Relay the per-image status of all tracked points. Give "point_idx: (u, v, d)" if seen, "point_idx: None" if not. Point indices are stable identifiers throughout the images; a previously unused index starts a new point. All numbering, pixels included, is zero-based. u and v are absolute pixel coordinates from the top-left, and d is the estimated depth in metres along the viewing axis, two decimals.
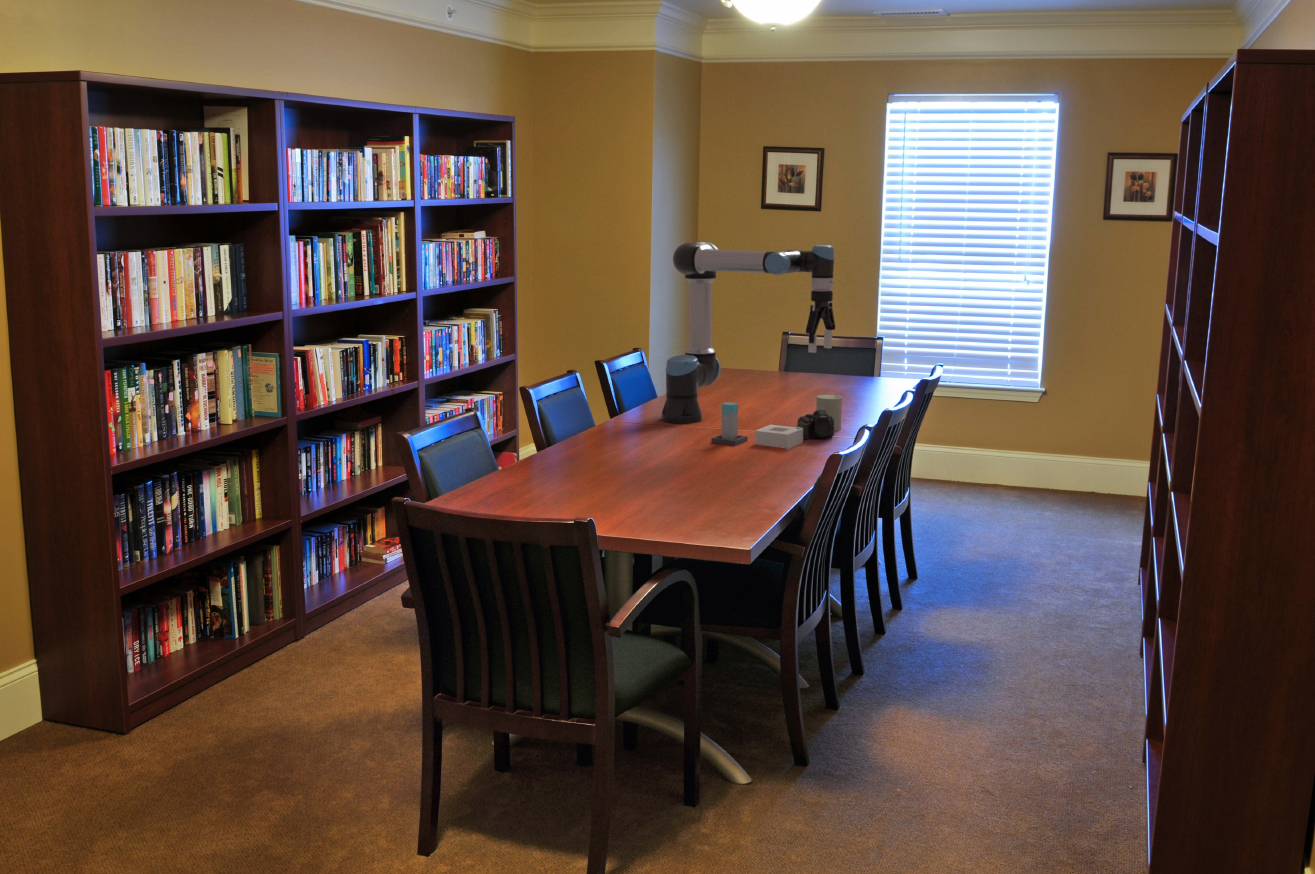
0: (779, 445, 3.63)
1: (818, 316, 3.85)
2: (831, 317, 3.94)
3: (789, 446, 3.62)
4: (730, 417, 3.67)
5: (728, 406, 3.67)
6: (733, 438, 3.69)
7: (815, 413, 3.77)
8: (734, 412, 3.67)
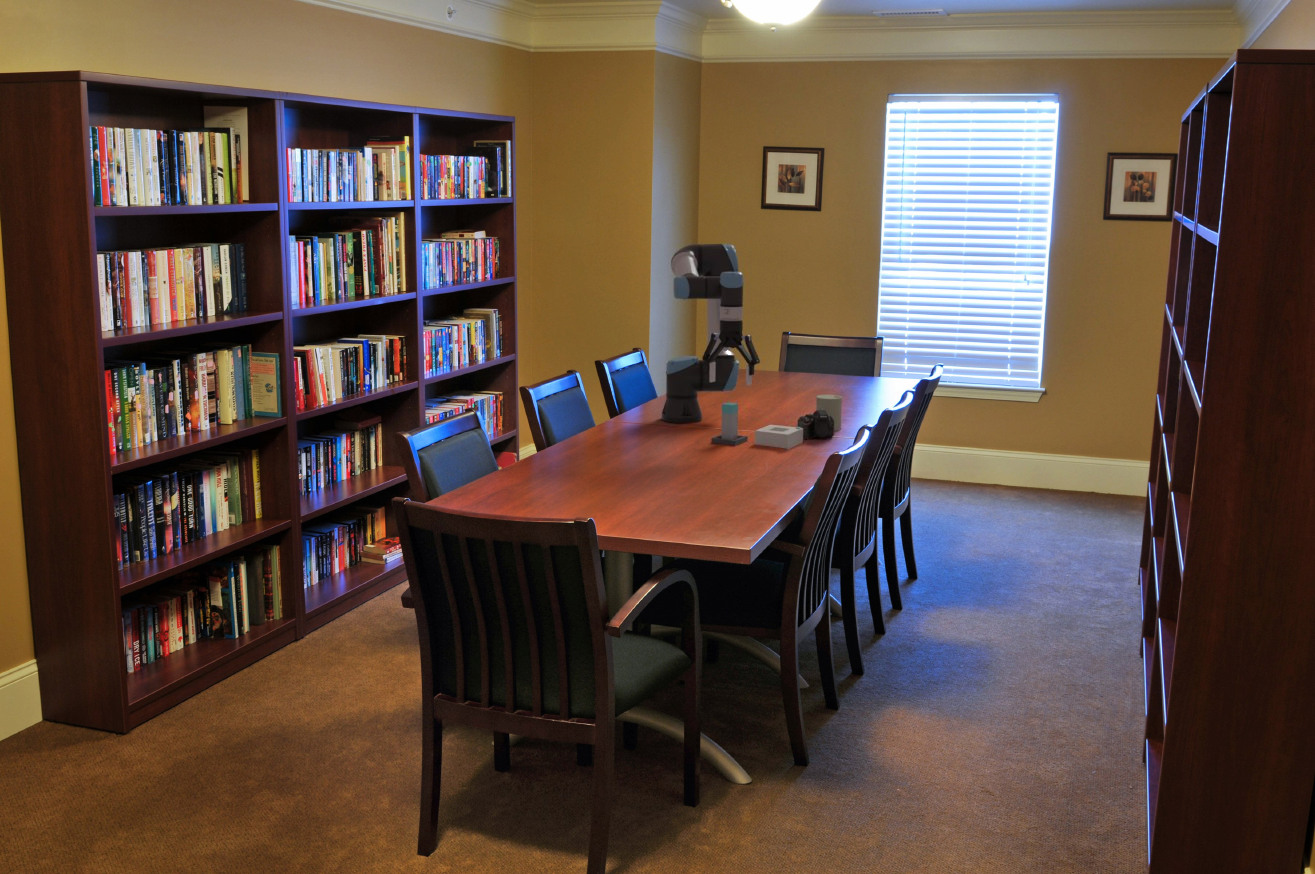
0: (779, 445, 3.63)
1: None
2: None
3: (789, 446, 3.62)
4: (730, 417, 3.67)
5: (728, 406, 3.67)
6: (733, 438, 3.69)
7: (815, 413, 3.77)
8: (734, 412, 3.67)
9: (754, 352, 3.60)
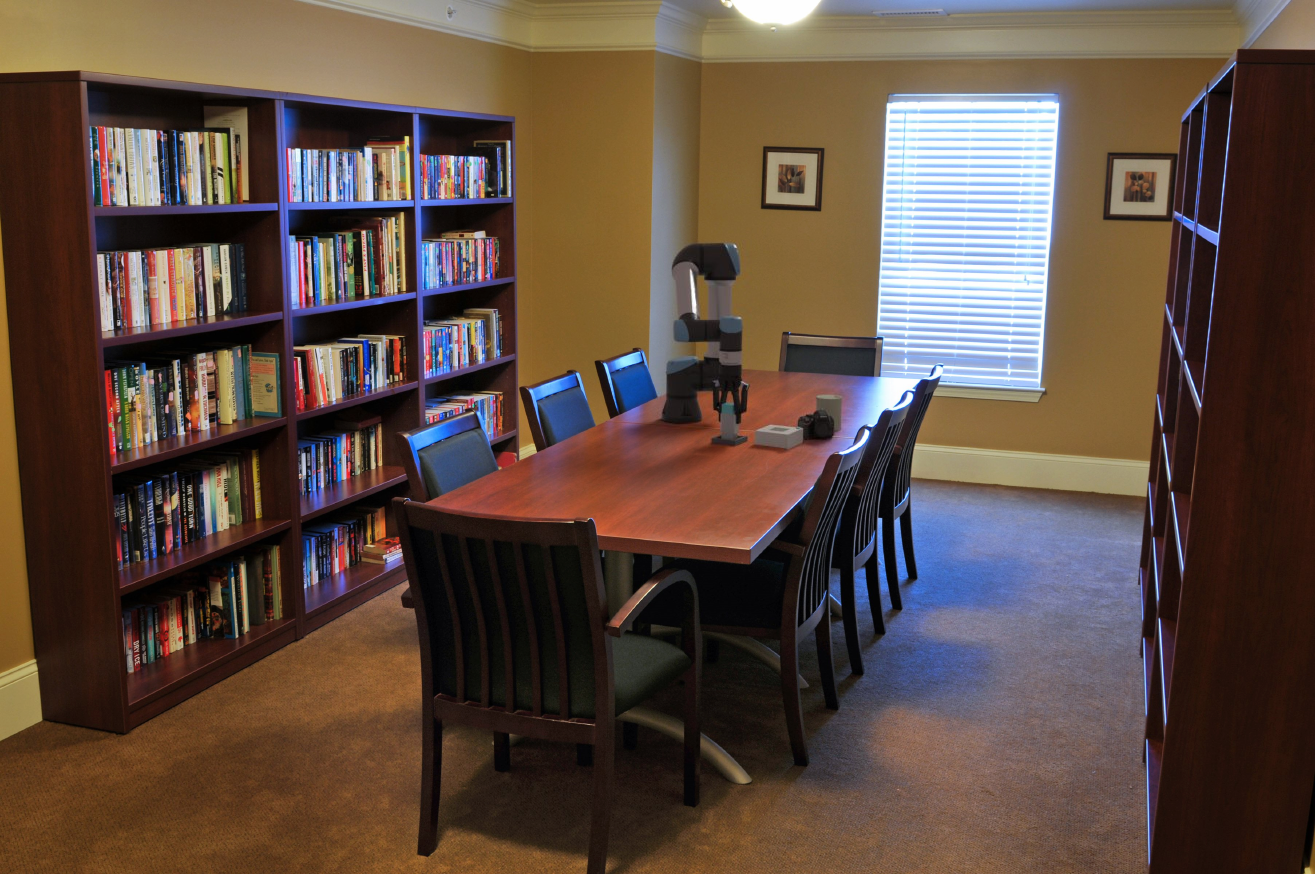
0: (779, 445, 3.63)
1: None
2: None
3: (789, 446, 3.62)
4: (730, 417, 3.67)
5: (728, 406, 3.67)
6: (733, 438, 3.69)
7: (815, 413, 3.77)
8: (734, 412, 3.67)
9: (745, 402, 3.65)
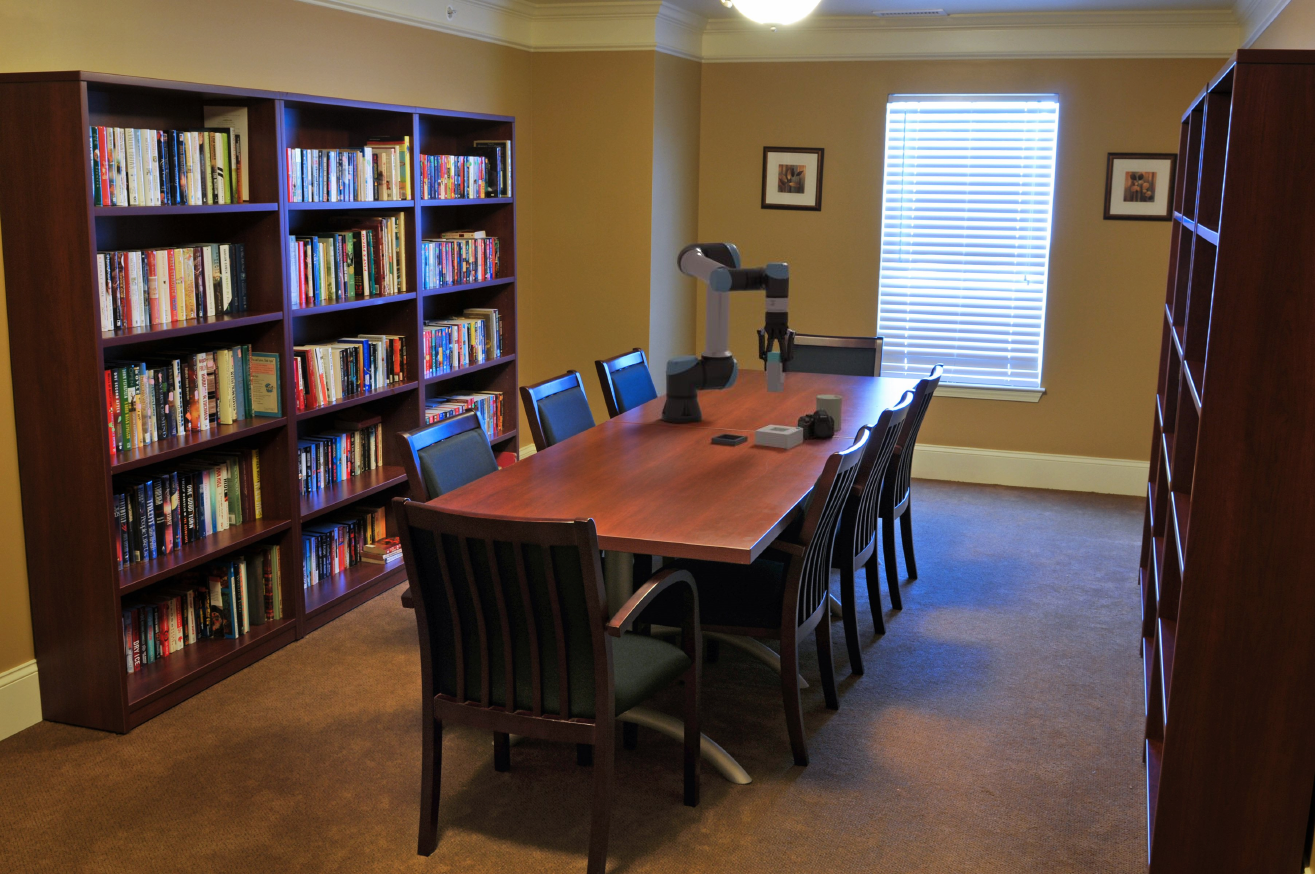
0: (779, 445, 3.63)
1: None
2: None
3: (789, 446, 3.62)
4: (775, 365, 3.61)
5: (774, 354, 3.61)
6: (779, 387, 3.63)
7: (815, 413, 3.77)
8: (780, 360, 3.62)
9: (792, 349, 3.59)
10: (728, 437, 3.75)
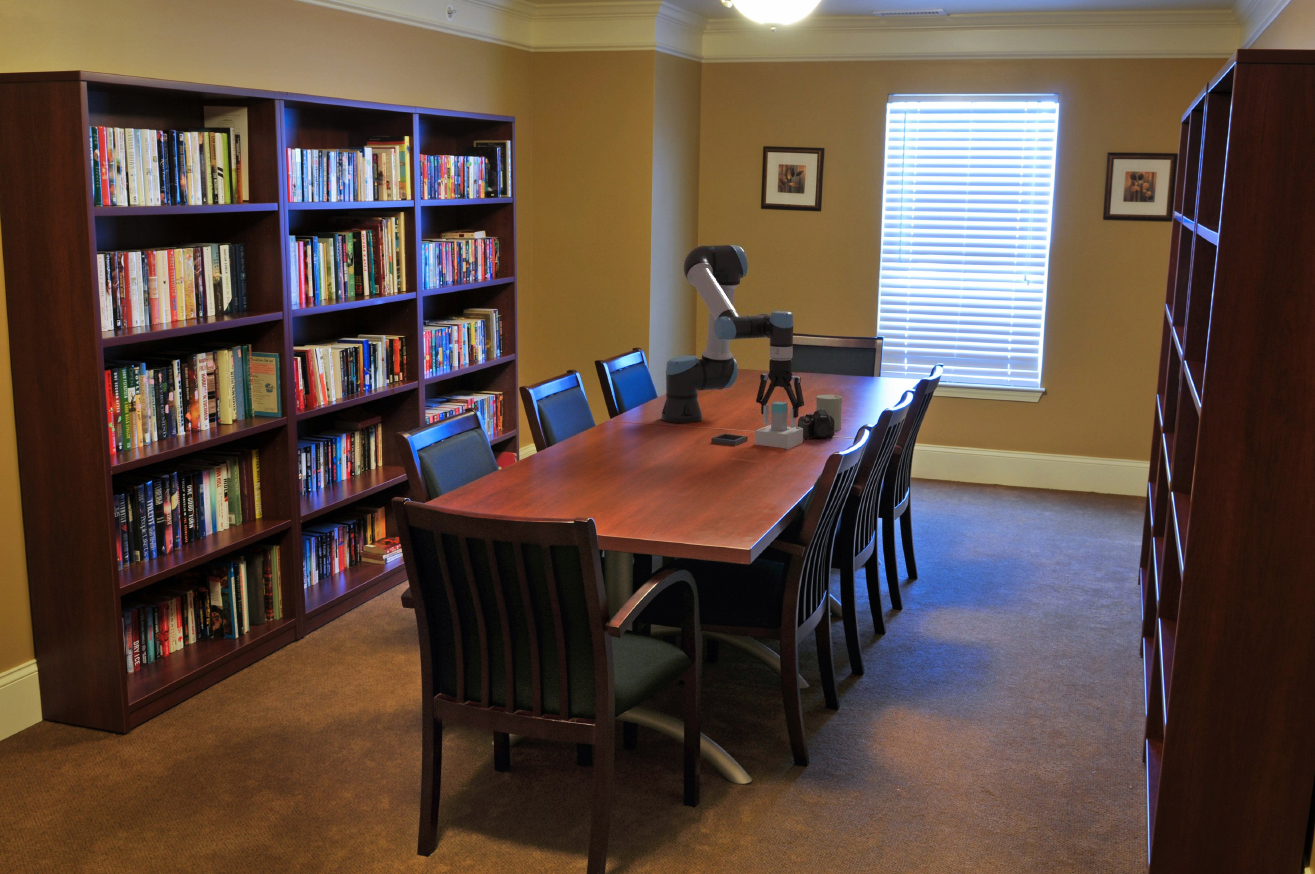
0: (779, 445, 3.63)
1: None
2: None
3: (789, 446, 3.62)
4: (779, 416, 3.65)
5: (778, 405, 3.65)
6: None
7: (815, 413, 3.77)
8: (784, 411, 3.66)
9: (800, 395, 3.62)
10: (728, 437, 3.75)
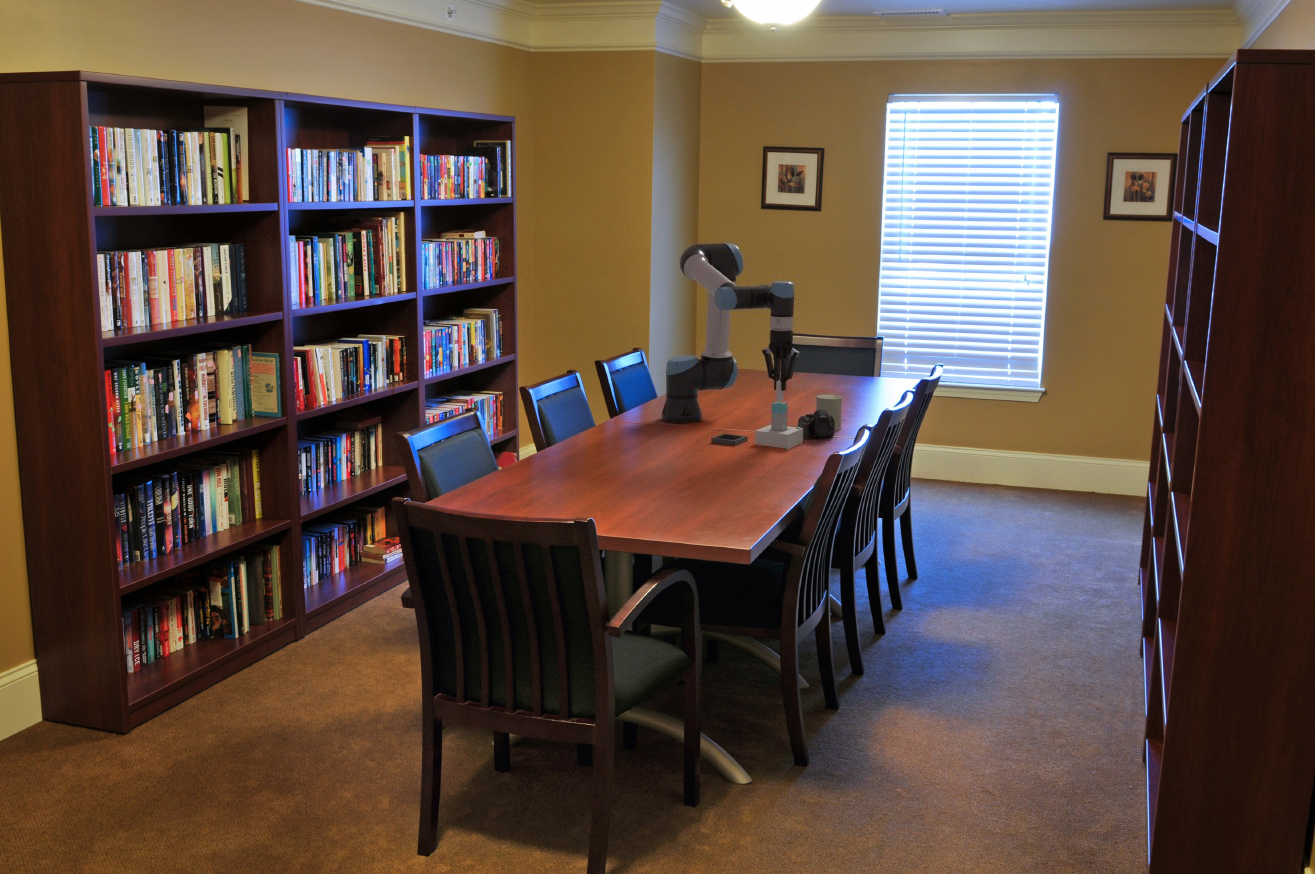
0: (779, 445, 3.63)
1: None
2: None
3: (789, 446, 3.62)
4: (779, 416, 3.65)
5: (778, 405, 3.65)
6: None
7: (815, 413, 3.77)
8: (784, 411, 3.66)
9: (792, 369, 3.62)
10: (728, 437, 3.75)
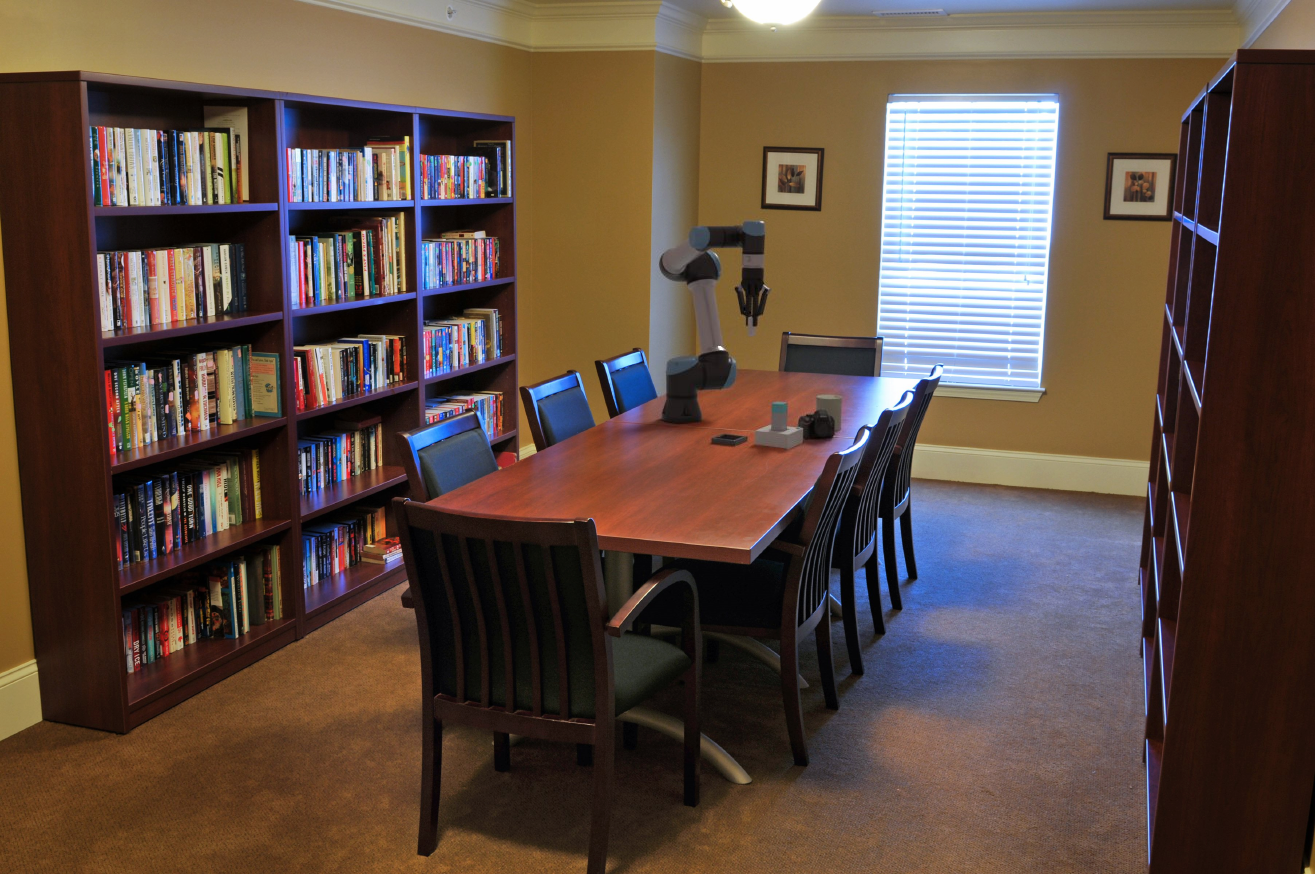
0: (779, 445, 3.63)
1: None
2: None
3: (789, 446, 3.62)
4: (779, 416, 3.65)
5: (778, 405, 3.65)
6: None
7: (816, 413, 3.77)
8: (784, 411, 3.66)
9: (763, 305, 3.76)
10: (728, 437, 3.75)
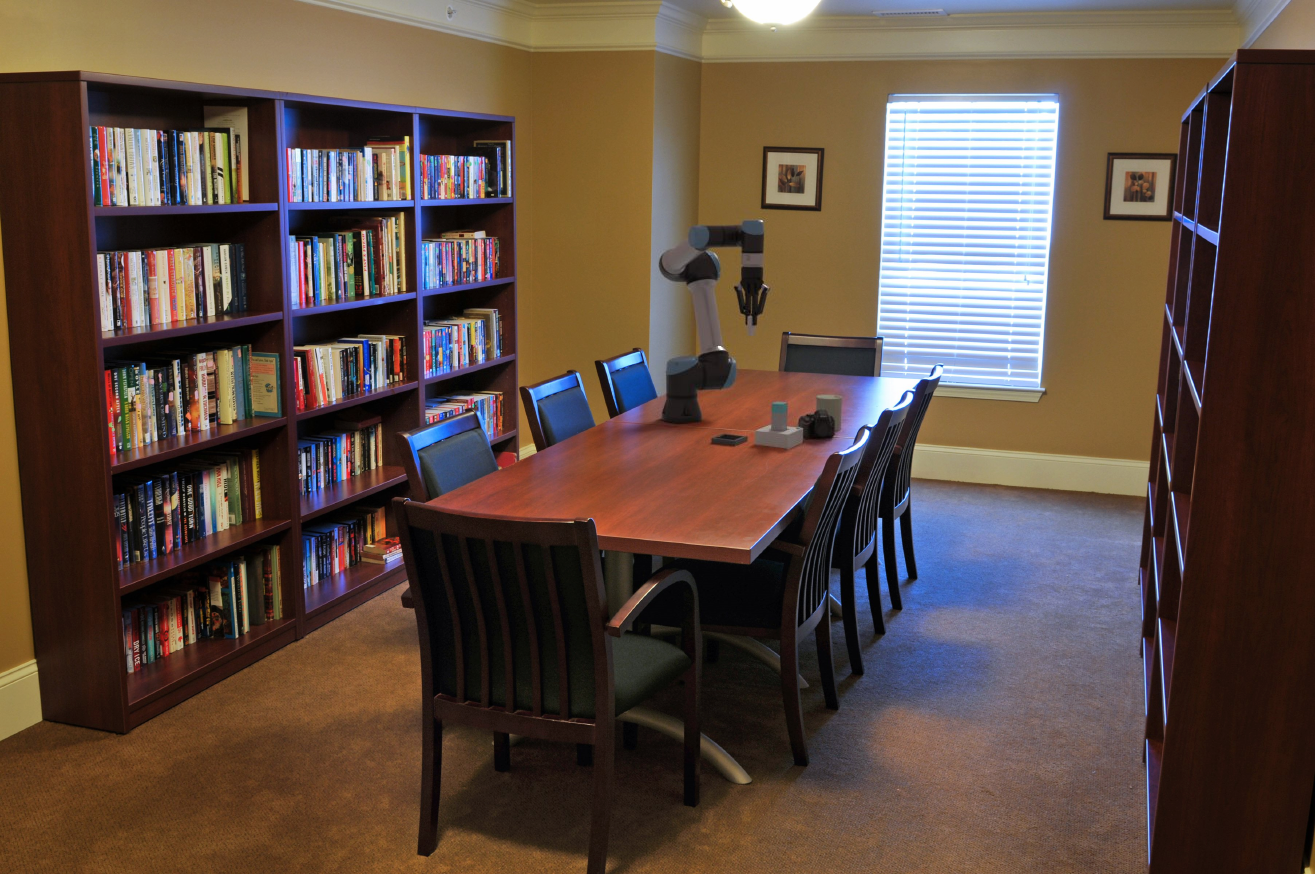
0: (779, 445, 3.63)
1: None
2: None
3: (789, 446, 3.62)
4: (779, 416, 3.65)
5: (778, 405, 3.65)
6: None
7: (816, 413, 3.77)
8: (784, 411, 3.66)
9: (763, 304, 3.76)
10: (728, 437, 3.75)
